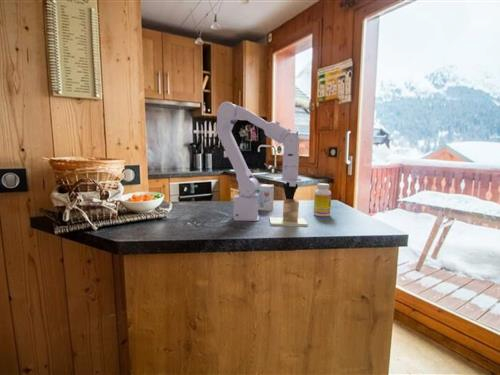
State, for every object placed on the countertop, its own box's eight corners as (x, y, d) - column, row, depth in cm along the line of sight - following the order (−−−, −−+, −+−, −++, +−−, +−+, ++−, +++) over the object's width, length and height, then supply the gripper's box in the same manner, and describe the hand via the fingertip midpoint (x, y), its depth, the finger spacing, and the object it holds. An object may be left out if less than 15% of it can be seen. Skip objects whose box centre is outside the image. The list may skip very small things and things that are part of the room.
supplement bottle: (330, 217, 117) (332, 185, 115) (313, 216, 118) (315, 184, 116) (329, 213, 123) (331, 183, 121) (313, 212, 125) (314, 182, 123)
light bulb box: (246, 209, 129) (246, 184, 128) (250, 206, 135) (251, 183, 134) (270, 211, 126) (270, 186, 124) (273, 208, 132) (274, 184, 131)
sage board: (270, 225, 104) (270, 223, 103) (269, 219, 112) (269, 217, 112) (307, 226, 103) (307, 224, 103) (303, 219, 112) (303, 217, 112)
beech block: (283, 221, 106) (284, 201, 104) (282, 218, 109) (283, 198, 108) (297, 221, 106) (298, 202, 104) (296, 218, 109) (297, 199, 107)
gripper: (305, 168, 100) (303, 207, 102) (298, 165, 114) (296, 199, 116) (284, 167, 100) (283, 207, 102) (280, 164, 114) (279, 199, 116)
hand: (289, 203), depth 109 cm, fingers closed
